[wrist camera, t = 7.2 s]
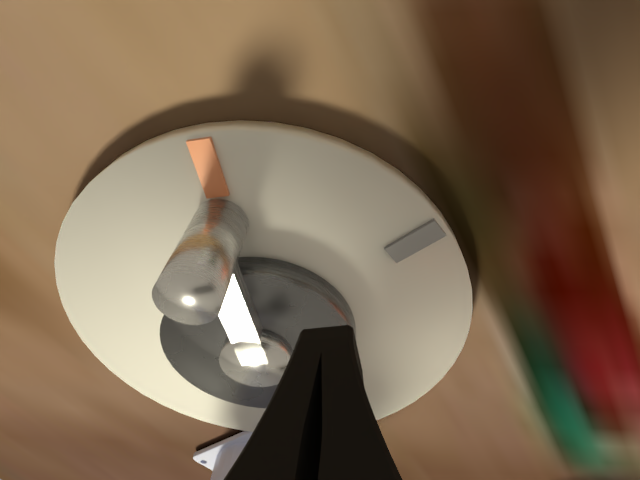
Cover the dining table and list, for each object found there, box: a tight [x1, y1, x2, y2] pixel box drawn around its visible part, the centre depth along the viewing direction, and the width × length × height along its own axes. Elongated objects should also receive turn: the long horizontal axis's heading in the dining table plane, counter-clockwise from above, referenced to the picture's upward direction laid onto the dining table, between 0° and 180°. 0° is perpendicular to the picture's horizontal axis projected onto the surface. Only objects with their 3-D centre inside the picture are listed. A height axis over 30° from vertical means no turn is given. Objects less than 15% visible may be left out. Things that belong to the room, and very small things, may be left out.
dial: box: [152, 199, 356, 408], centre depth 19 cm, size 13×10×5 cm
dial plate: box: [54, 120, 473, 432], centre depth 23 cm, size 22×22×1 cm
